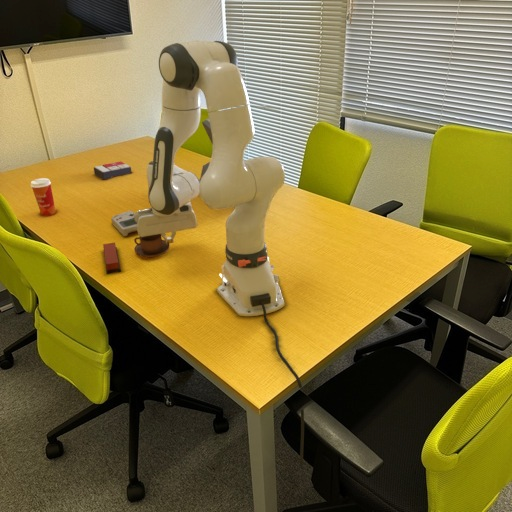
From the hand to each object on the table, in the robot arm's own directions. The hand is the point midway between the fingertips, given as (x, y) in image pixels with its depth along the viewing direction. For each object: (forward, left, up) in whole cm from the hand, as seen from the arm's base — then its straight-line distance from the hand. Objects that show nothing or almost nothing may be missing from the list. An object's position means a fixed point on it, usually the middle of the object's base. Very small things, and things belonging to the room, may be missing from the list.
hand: (169, 242), depth 163 cm
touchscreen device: (+42, -32, -3) cm, 53 cm away
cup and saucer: (0, +6, -3) cm, 7 cm away
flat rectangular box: (+89, +13, -3) cm, 90 cm away
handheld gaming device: (+23, +12, -3) cm, 26 cm away
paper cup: (+50, +42, -3) cm, 65 cm away
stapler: (-1, +20, -3) cm, 20 cm away
